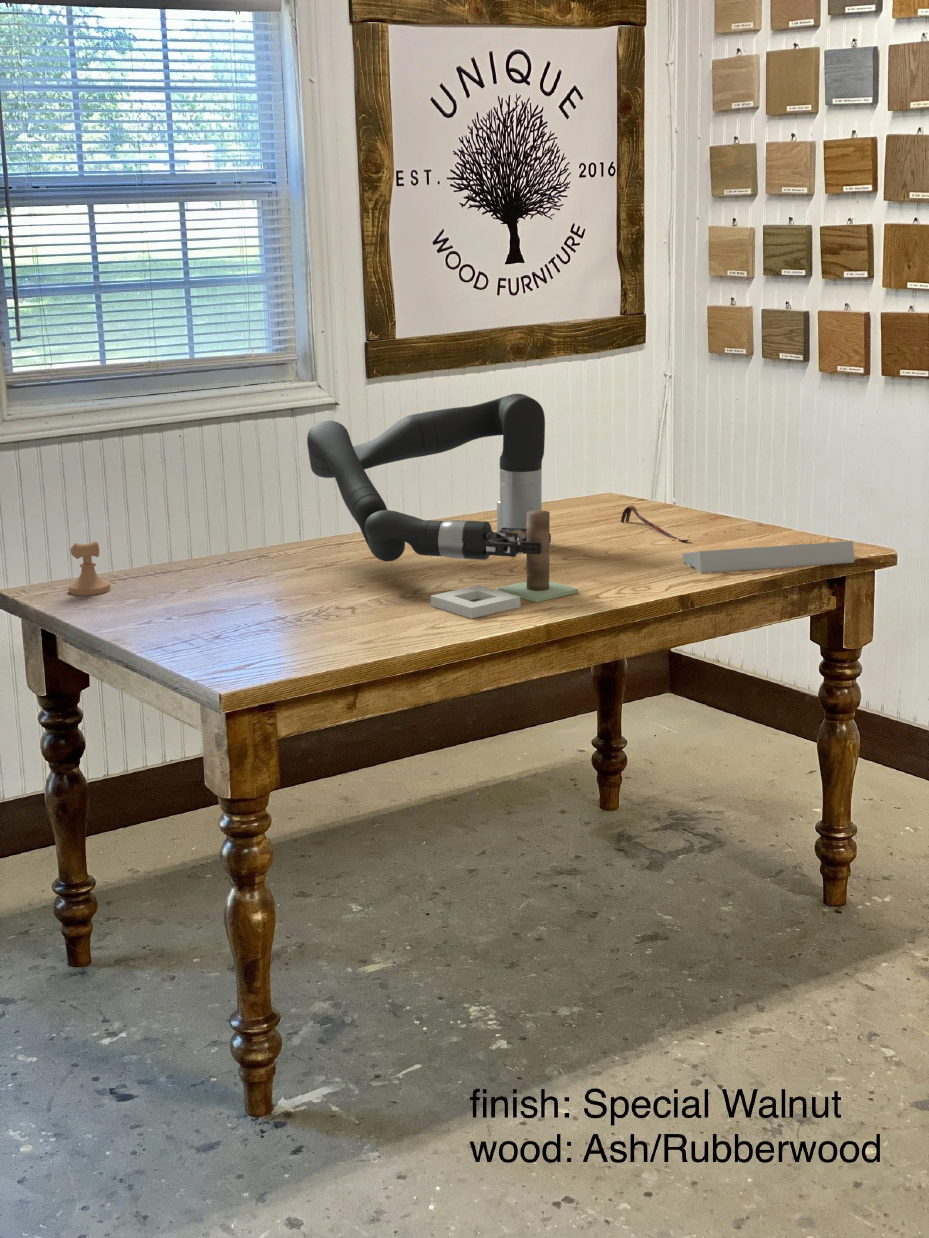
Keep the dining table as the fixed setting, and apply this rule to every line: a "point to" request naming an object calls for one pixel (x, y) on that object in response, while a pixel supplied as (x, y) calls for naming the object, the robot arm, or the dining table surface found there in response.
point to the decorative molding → (771, 557)
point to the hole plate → (475, 601)
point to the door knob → (87, 571)
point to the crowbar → (632, 508)
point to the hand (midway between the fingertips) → (546, 543)
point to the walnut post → (538, 562)
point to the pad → (537, 596)
